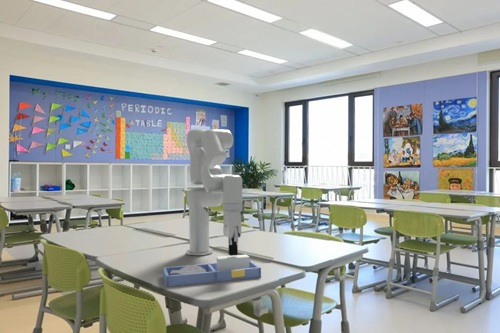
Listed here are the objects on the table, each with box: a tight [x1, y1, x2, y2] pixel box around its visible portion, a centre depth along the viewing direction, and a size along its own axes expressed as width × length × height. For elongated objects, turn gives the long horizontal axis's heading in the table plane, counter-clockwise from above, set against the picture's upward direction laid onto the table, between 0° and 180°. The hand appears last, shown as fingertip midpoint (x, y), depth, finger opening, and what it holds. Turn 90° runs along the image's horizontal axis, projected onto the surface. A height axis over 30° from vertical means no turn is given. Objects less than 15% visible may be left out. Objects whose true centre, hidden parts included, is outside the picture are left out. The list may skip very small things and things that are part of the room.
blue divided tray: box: [162, 259, 262, 287], centre depth 146 cm, size 13×35×4 cm, turn 108°
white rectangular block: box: [216, 254, 250, 271], centre depth 149 cm, size 4×12×7 cm, turn 107°
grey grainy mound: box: [169, 264, 206, 276], centre depth 143 cm, size 12×5×10 cm
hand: (233, 254), depth 149 cm, fingers closed
